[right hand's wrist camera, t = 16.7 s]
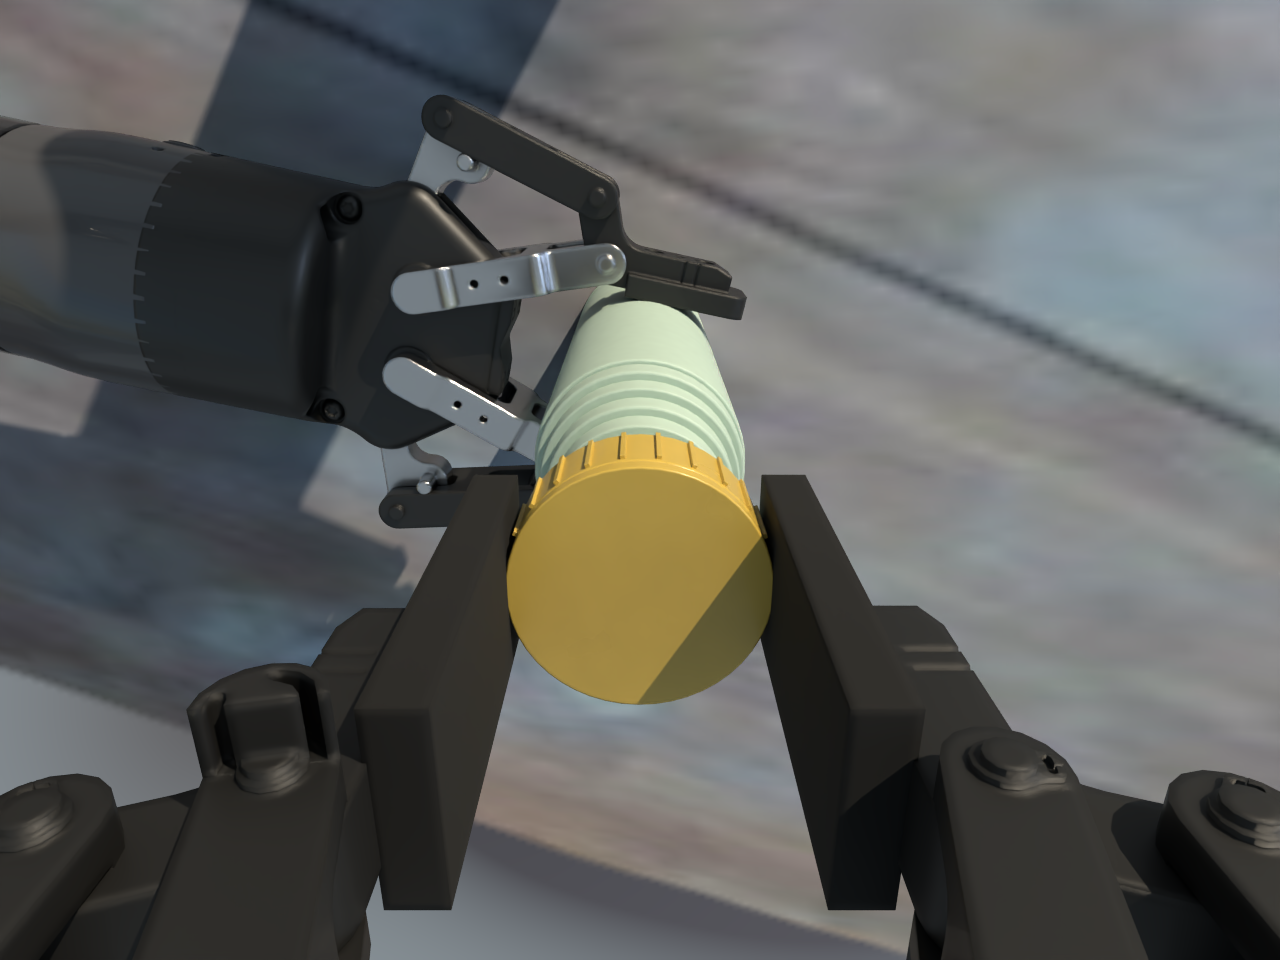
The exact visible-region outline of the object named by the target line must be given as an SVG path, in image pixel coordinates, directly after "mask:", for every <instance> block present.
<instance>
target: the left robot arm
mask: <svg viewBox="0 0 1280 960" xmlns="http://www.w3.org/2000/svg"><path fill="white" fill-rule="evenodd" d="M422 123H423V126H424V128H425V130H426V132H425V135H424V137H423V140H422V143H421V146H420V148H419V151H418V154H417V156H416V159H415V162H414V165H413V167H412V170H411V173H410V175H409V178H408V180H406V181H397V182H393V183H391V184H388V185H385V186H382V187H368V186H362V185H357V184H352V183H348V182H343V181H339V180H334V179H329V178H325V177H320V176H316V175H311V174H307V173H302V172H297V171H293V170H288V169H284V168H279V167H275V166H270V165H265V164H261V163H256V162H252V161H247V160H243V159H238V158H234V157H229V156H224V155H220V154H215V153H209V152H205V150H203V149H201V148H199V147H196V146H193V145H190V144H186V143H183V142H178V141H172V140H169V141H163V142H160V141H155V140H151V139H146V138H141V137H136V136H131V135H126V134H120V133H115V132H105V131H96V130H80V129H68V128H58V127H52V126H46V125H40V124H37V123H33V122H28V121H24V120H19V119H14V118H10V117H5V116H1V115H0V352H3V353H8V354H13V355H18V356H23V357H27V358H31V359H35V360H38V361H41V362H44V363H47V364H50V365H53V366H56V367H59V368H62V369H65V370H67V371H71V372H74V373H77V374H80V375H84V376H87V377H92V378H96V379H100V380H104V381H108V382H113V383H118V384H123V385H128V386H133V387H138V388H144V389H149V390H154V391H159V392H164V393H169V394H174V395H179V396H184V397H189V398H194V399H199V400H205V401H210V402H214V403H220V404H225V405H230V406H235V407H240V408H245V409H250V410H255V411H260V412H265V413H270V414H276V415H281V416H286V417H291V418H296V419H301V420H306V421H313V422H321V423H330V424H336V425H340V426H343V427H346V428H348V429H350V430H352V431H354V432H355V433H357V434H358V435H360V436H361V437H362V438H364V439H365V440H366V441H368V442H369V443H371V444H372V445H374V446H377V447H379V448H381V453H382V459H383V465H384V471H385V478H386V484H387V490H388V493H387V495H386V496H385V498H384V499H383V500H382V502H381V503H380V506H379V515H380V517H381V519H382V520H383V522H384V523H385V524H387V525H388V526H390V527H393V528H426V527H448V525H449V523H450V521H451V519H452V517H453V515H454V513H455V511H456V509H457V508H458V506H459V504H460V502H461V500H462V498H463V496H464V494H465V492H466V490H467V488H468V486H469V484H470V482H471V480H472V478H473V477H474V475H518V488H519V505H520V510H521V507H522V505H523V503H524V504H527V502H528V500H529V498H530V496H531V494H532V492H533V490H534V487H535V484H536V477H535V465H520V466H494V467H469V468H452V467H451V464H450V463H449V462H448V460H447V459H445V458H444V457H442V456H440V455H434V454H428V453H426V452H424V451H422V450H421V449H420V448H419V447H418V445H417V444H416V442H417V441H420V440H422V439H424V438H427V437H429V436H431V435H433V434H436V433H438V432H440V431H442V430H445V429H447V428H449V427H451V426H454V425H458V426H460V427H461V428H463V429H465V430H467V431H469V432H470V433H472V434H474V435H476V436H478V437H479V438H481V439H483V440H485V441H487V442H488V443H490V444H492V445H494V446H495V447H497V448H499V449H502V450H505V451H515V452H518V453H520V454H521V455H523V456H525V457H527V458H529V459H530V460H532V461H534V462H535V446H536V439H537V435H538V431H539V428H540V425H541V422H542V419H543V417H544V414H545V411H546V408H547V406H548V403H546V402H544V401H543V400H542V399H540V398H539V396H538V395H537V394H536V393H535V392H534V391H533V390H531V389H530V388H528V387H527V386H525V385H523V384H521V383H520V382H518V381H516V380H514V379H513V378H511V377H509V375H510V369H511V363H512V353H511V344H510V332H511V330H512V328H513V326H514V323H515V321H516V319H517V317H518V314H519V312H520V306H521V299H524V298H531V297H538V296H543V295H547V294H550V293H553V292H558V291H565V290H573V289H580V288H588V287H595V286H602V285H611V286H615V287H620V288H625V296H624V297H628V298H633V299H638V300H642V301H649V302H654V303H660V304H663V305H666V306H671V307H675V308H680V309H685V310H689V311H694V312H699V313H704V314H708V315H713V316H718V317H722V318H727V319H733V320H741V318H742V315H743V311H744V307H745V303H746V299H747V297H746V296H745V294H744V293H743V292H742V291H741V290H739V289H736V288H733V287H730V284H731V280H732V277H731V275H730V274H729V273H728V271H726V270H725V269H723V268H722V267H721V266H719V265H718V264H716V263H715V262H712V261H708V260H703V259H699V258H694V257H689V256H684V255H680V254H676V253H671V252H666V251H662V250H657V249H653V248H648V247H644V246H640V245H638V244H635V243H634V242H633V241H631V240H630V239H629V237H628V236H627V235H626V233H625V230H624V228H623V222H622V215H621V208H620V202H619V197H620V192H619V188H618V185H617V183H616V182H615V181H614V180H613V179H612V178H611V177H610V176H608V175H606V174H604V173H602V172H600V171H598V170H596V169H594V168H592V167H591V166H589V165H587V164H585V163H583V162H581V161H579V160H577V159H575V158H573V157H571V156H570V155H568V154H566V153H564V152H562V151H560V150H558V149H556V148H554V147H552V146H550V145H548V144H547V143H545V142H543V141H541V140H539V139H537V138H535V137H533V136H531V135H529V134H527V133H525V132H524V131H522V130H520V129H518V128H516V127H514V126H512V125H510V124H508V123H506V122H504V121H502V120H501V119H499V118H497V117H495V116H493V115H491V114H489V113H487V112H485V111H483V110H481V109H479V108H478V107H476V106H474V105H472V104H470V103H468V102H466V101H463V100H460V99H457V98H454V97H450V96H446V95H436V96H433V97H431V98H430V99H429V100H428V101H427V102H426V103H425V105H424V106H423V109H422ZM494 169H495V170H497V171H498V172H500V173H502V174H504V175H506V176H508V177H510V178H512V179H514V180H516V181H518V182H520V183H522V184H524V185H526V186H528V187H530V188H532V189H534V190H536V191H538V192H540V193H542V194H543V195H545V196H547V197H549V198H551V199H553V200H555V201H557V202H559V203H561V204H563V205H565V206H567V207H569V208H571V209H573V210H575V211H577V212H579V217H580V224H581V230H582V236H583V239H581V240H574V241H567V242H560V243H543V244H536V245H528V246H521V247H514V248H506V249H499V250H497V249H496V248H495V247H494V246H493V245H492V244H491V243H490V242H489V241H488V240H487V239H486V238H485V236H484V235H483V234H482V233H481V232H480V231H479V230H478V229H477V228H476V227H475V226H474V225H473V224H472V223H471V221H470V220H469V219H468V218H467V217H466V216H465V215H464V214H463V213H462V212H461V211H460V210H459V209H458V208H457V207H456V205H455V204H454V203H453V202H452V201H451V200H450V199H449V198H448V197H447V196H446V195H445V194H444V193H443V192H444V190H445V188H446V187H447V186H448V185H449V184H450V183H451V182H453V181H461V182H464V183H468V184H475V183H480V182H484V181H486V180H487V179H488V178H489V177H490V176H491V175H492V173H493V171H494ZM501 393H502V394H501ZM482 415H484V416H486V417H487V418H484V417H483V416H482Z"/></svg>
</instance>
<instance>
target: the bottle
mask: <svg viewBox="0 0 1280 960" xmlns="http://www.w3.org/2000/svg"><path fill="white" fill-rule="evenodd" d="M624 296H625V288H620V287H615V286H611V285H602V286H598V287H597V288H596V289H595V290H594V291H593V292H592V293H591V295H590V297H589V298H588V300H587V302H586V304H585V306H584V308H583V311H582V314H581V316H580V319H579V322H578V324H577V327H576V330H575V333H574V335H573V338H572V341H571V343H570V346H569V349H568V352H567V354H566V357H565V360H564V362H563V365H562V368H561V371H560V373H559V376H558V379H557V381H556V384H555V387H554V389H553V392H552V395H551V398H550V400H549V403H548V406H547V408H546V411H545V414H544V417H543V419H542V422H541V425H540V428H539V431H538V435H537V439H536V446H535V477H536V481H537V479H538V478H539V477H540V478H543V477H544V476H545V475H546V474H547V473H548V472H549V471H550V469H551V468H553V467H554V466H555V465H556V464H557V463H558V461H559V458H560V457H561V456H562V455H564V457H566V456H568V455H570V454H571V453H573V452H574V451H576V450H578V449H580V448H582V447H584V446H586V445H588V441H590V440H593V441H594V442H596V441H600V440H603V439H606V438H610V437H616V436H621V433H622V432H626V434H627V435H634V434H646V435H655V433H656V432H658V433H661V436H664V437H669V438H674V439H677V440H680V441H683V442H686V443H688V441H692V442H693V443H694V446H695V447H697V448H699V449H701V450H704V451H705V452H707V453H708V454H710V455H711V456H713V457H714V458H717V457H718V456H719V457H720V458H721V459H722V462H723V465H724V466H726V467H727V468H728V469H729V470H730V471H731V472H732V473H733V474H734V476H735V477H736V478H737V479H738V480H740V479H742V480H743V481H744V473H745V469H744V465H745V448H744V442H743V437H742V433H741V430H740V427H739V423H738V421H737V418H736V415H735V412H734V410H733V407H732V404H731V402H730V399H729V396H728V393H727V391H726V388H725V385H724V383H723V380H722V377H721V374H720V372H719V369H718V366H717V364H716V361H715V358H714V355H713V353H712V350H711V347H710V345H709V342H708V339H707V336H706V334H705V331H704V328H703V326H702V323H701V320H700V317H699V315H698V312H694V311H689V310H685V309H680V308H675V307H671V306H666V305H663V304H660V303H654V302H649V301H642V300H638V299H633V298H628V297H624Z"/></svg>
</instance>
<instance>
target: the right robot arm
mask: <svg viewBox="0 0 1280 960" xmlns="http://www.w3.org/2000/svg"><path fill="white" fill-rule="evenodd" d="M519 513H520V505H519V488H518V475H474V477H473V478H472V480H471V482H470V484H469V486H468V488H467V490H466V492H465V494H464V496H463V498H462V500H461V502H460V504H459V506H458V508H457V509H456V511H455V513H454V515H453V517H452V519H451V521H450V523H449V525H448V527H447V529H446V531H445V533H444V535H443V537H442V539H441V540H440V542H439V544H438V546H437V548H436V550H435V552H434V554H433V556H432V558H431V560H430V562H429V564H428V566H427V568H426V570H425V572H424V573H423V575H422V577H421V579H420V581H419V583H418V585H417V587H416V589H415V591H414V593H413V595H412V597H411V599H410V601H409V603H408V604H407V606H406V608H363V609H361V610H360V611H359V612H357V613H356V614H354V615H353V616H352V617H350V618H349V619H347V620H346V621H345V622H343V623H342V624H340V625H339V626H338V627H336V629H335V630H334V632H333V633H332V635H331V636H330V638H329V639H328V641H327V643H326V644H325V646H324V647H323V649H322V654H319V655H318V657H317V658H316V660H315V661H314V663H313V664H312V666H311V667H309V666H305V665H301V664H298V663H273V664H267V665H263V666H258V667H253V668H248V669H244V670H242V671H240V672H237V673H235V674H232V675H230V676H227V677H225V678H223V679H220V680H219V681H217V682H216V683H214V684H213V685H211V686H210V687H208V688H207V689H205V690H204V691H202V692H201V693H199V695H198V696H197V697H196V698H195V700H194V701H193V702H192V703H191V705H190V706H189V707H188V708H187V714H188V718H189V723H190V727H191V731H192V735H193V739H194V743H195V748H196V752H197V756H198V760H199V764H200V768H201V773H202V777H203V779H202V781H201V784H200V787H199V788H196V789H193V790H190V791H186V792H183V793H179V794H176V795H171V796H167V797H162V798H158V799H153V800H149V801H144V802H140V803H135V804H130V805H126V806H121V807H117V806H116V803H115V799H114V796H113V793H112V789H111V787H109V786H108V785H107V784H106V783H105V782H104V781H102V780H101V779H100V778H99V777H94V776H88V775H83V774H70V775H61V776H51V777H47V778H44V779H41V780H36V781H34V782H30V783H27V784H24V785H21V786H18V787H16V788H14V789H12V790H10V791H9V792H6V793H4V794H2V795H0V960H369V958H370V948H371V942H370V935H369V929H368V922H367V916H366V908H367V906H368V903H369V900H370V897H371V895H372V892H373V889H374V886H375V884H376V881H377V878H378V875H379V880H380V887H381V894H382V900H383V907H384V910H451V909H452V905H453V901H454V897H455V893H456V889H457V885H458V881H459V877H460V873H461V869H462V865H463V861H464V857H465V853H466V849H467V845H468V841H469V837H470V833H471V829H472V825H473V821H474V817H475V813H476V809H477V805H478V801H479V797H480V793H481V789H482V785H483V781H484V777H485V773H486V769H487V765H488V761H489V757H490V753H491V749H492V745H493V741H494V736H495V732H496V728H497V724H498V720H499V716H500V712H501V708H502V704H503V700H504V696H505V692H506V688H507V684H508V680H509V676H510V672H511V668H512V664H513V660H514V656H515V652H516V648H517V644H518V640H519V637H518V635H517V633H516V631H515V628H514V626H513V624H512V622H511V618H510V615H509V607H508V593H507V577H506V569H507V563H508V559H509V556H510V552H511V549H512V546H513V543H514V540H515V536H512V534H513V531H514V528H515V525H516V522H517V519H518V516H519ZM760 515H761V517H762V520H763V523H764V526H765V529H766V532H767V535H768V538H766V539H765V542H766V545H767V548H768V551H769V554H770V558H771V561H772V566H773V584H772V600H771V612H770V616H769V619H768V623H767V625H766V627H765V629H764V632H763V634H762V636H761V642H762V646H763V650H764V654H765V658H766V662H767V666H768V670H769V674H770V678H771V682H772V686H773V690H774V694H775V698H776V702H777V706H778V710H779V715H780V719H781V723H782V727H783V731H784V735H785V739H786V743H787V747H788V751H789V755H790V759H791V763H792V767H793V771H794V775H795V779H796V783H797V787H798V791H799V795H800V799H801V803H802V807H803V811H804V815H805V819H806V823H807V827H808V831H809V835H810V839H811V843H812V847H813V851H814V855H815V859H816V863H817V867H818V871H819V875H820V879H821V883H822V887H823V891H824V895H825V899H826V903H827V907H828V910H896V903H897V897H898V890H899V883H900V877H901V873H902V876H903V878H904V881H905V884H906V887H907V889H908V892H909V895H910V898H911V900H912V903H913V906H914V909H915V910H914V916H913V922H912V928H911V935H910V941H909V947H908V953H907V959H906V960H1280V792H1279V791H1277V790H1275V789H1273V788H1271V787H1269V786H1267V785H1265V784H1263V783H1261V782H1258V781H1255V780H1253V779H1250V778H1245V777H1243V776H1239V775H1235V774H1232V773H1226V772H1216V771H1207V770H1200V771H1195V772H1189V773H1184V774H1181V775H1180V776H1178V777H1177V778H1176V779H1175V780H1174V781H1173V782H1171V783H1170V784H1169V787H1168V790H1167V794H1166V797H1165V800H1164V804H1161V803H1156V802H1152V801H1147V800H1142V799H1138V798H1133V797H1129V796H1124V795H1120V794H1115V793H1110V792H1106V791H1102V790H1099V789H1095V788H1092V787H1088V786H1085V785H1082V784H1080V783H1079V780H1078V777H1077V776H1076V774H1075V773H1074V771H1073V770H1072V768H1071V767H1070V765H1069V764H1068V763H1067V761H1066V760H1065V759H1064V758H1063V757H1061V756H1060V755H1059V754H1058V753H1056V752H1055V751H1054V750H1053V749H1051V748H1050V747H1049V746H1047V745H1046V744H1044V743H1042V742H1040V741H1038V740H1035V739H1033V738H1031V737H1029V736H1027V735H1025V734H1023V733H1019V732H1015V731H1012V730H1011V728H1010V727H1009V725H1008V724H1007V722H1006V721H1005V719H1004V717H1003V716H1002V714H1001V713H1000V711H999V710H998V708H997V707H996V705H995V704H994V702H993V700H992V699H991V697H990V696H989V694H988V693H987V691H986V690H985V688H984V687H983V685H982V683H981V682H980V680H979V679H978V677H977V676H976V674H975V673H974V671H971V670H970V665H969V663H968V662H967V660H966V659H965V657H964V656H963V654H962V652H958V646H957V645H956V643H955V642H954V640H953V639H952V637H951V635H950V634H949V632H948V631H947V629H946V628H945V626H944V625H943V624H942V623H940V622H939V621H937V620H936V619H935V618H933V617H932V616H930V615H929V614H928V613H926V612H925V611H923V610H922V609H921V608H919V607H918V606H872V604H871V602H870V600H869V598H868V596H867V594H866V592H865V590H864V588H863V586H862V584H861V582H860V580H859V578H858V576H857V575H856V573H855V571H854V569H853V567H852V565H851V563H850V561H849V559H848V557H847V555H846V553H845V551H844V549H843V547H842V545H841V544H840V542H839V540H838V538H837V536H836V534H835V532H834V530H833V528H832V526H831V524H830V522H829V520H828V518H827V516H826V514H825V512H824V511H823V509H822V507H821V505H820V503H819V501H818V499H817V497H816V495H815V493H814V491H813V489H812V487H811V485H810V483H809V481H808V480H807V478H806V476H805V475H762V478H761V496H760Z"/></svg>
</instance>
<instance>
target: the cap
mask: <svg viewBox="0 0 1280 960" xmlns="http://www.w3.org/2000/svg"><path fill="white" fill-rule="evenodd" d="M512 536H515V540H514V543H513V546H512V549H511V552H510V556H509V559H508V563H507V569H506V577H507V593H508V607H509V615H510V618H511V622H512V624H513V626H514V628H515V631H516V633H517V635H518V637H519V639H520V640H521V642H522V643H523V645H524V647H525V648H526V650H527V651H528V652H529V653H530V655H531V656H532V657H533V658H534V660H535V661H536V662H537V663H538V664H539V665H540V666H541V667H542V668H544V669H545V670H546V671H547V672H548V673H549V674H551V675H552V676H553V677H555V678H556V679H557V680H559V681H560V682H562V683H563V684H565V685H567V686H569V687H571V688H572V689H574V690H576V691H579V692H581V693H583V694H586V695H588V696H591V697H594V698H598V699H601V700H605V701H610V702H616V703H621V704H636V705H641V704H657V703H664V702H670V701H674V700H678V699H682V698H685V697H688V696H691V695H693V694H696V693H698V692H701V691H703V690H705V689H707V688H709V687H711V686H712V685H714V684H716V683H718V682H719V681H721V680H722V679H723V678H725V677H726V676H728V675H729V674H730V673H731V672H733V671H734V670H735V669H736V668H737V667H738V666H739V665H740V664H741V663H742V662H743V661H744V660H745V659H746V658H747V656H748V655H749V654H750V653H751V652H752V650H753V649H754V647H755V646H756V644H757V643H758V641H759V639H760V638H761V636H762V634H763V632H764V629H765V627H766V625H767V623H768V619H769V616H770V612H771V600H772V584H773V566H772V561H771V558H770V554H769V551H768V548H767V545H766V542H765V539H766V538H768V535H767V532H766V529H765V526H764V523H763V520H762V517H761V515H760V512H759V509H758V506H757V505H756V506H753V503H752V501H751V499H750V497H749V495H748V493H747V489H746V486H745V483H744V481H743V480H742V479H740V480H738V479H737V478H736V477H735V476H734V474H733V473H732V472H731V471H730V470H729V469H728V468H727V467H726V466H724V465H723V462H722V459H721V458H720V457H719V456H718V457H717V458H714V457H713V456H711V455H710V454H708V453H707V452H705V451H704V450H701V449H699V448H697V447H695V446H694V443H693V442H692V441H688V443H686V442H683V441H680V440H677V439H674V438H669V437H664V436H661V433H658V432H656V433H655V435H646V434H634V435H627V434H626V432H622V433H621V436H616V437H610V438H606V439H603V440H600V441H596V442H594V441H593V440H590V441H588V445H586V446H584V447H582V448H580V449H578V450H576V451H574V452H573V453H571V454H570V455H568V456H566V457H564V455H562V456H561V457H560V458H559V461H558V463H557V464H556V465H555V466H554V467H553V468H551V469H550V471H549V472H548V473H547V474H546V475H545V476H544V477H543V478H540V477H539V478H538V479H537V481H536V484H535V487H534V490H533V492H532V494H531V496H530V498H529V500H528V502H527V504H524V503H523V505H522V507H521V510H520V513H519V516H518V519H517V522H516V525H515V528H514V531H513V534H512Z"/></svg>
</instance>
